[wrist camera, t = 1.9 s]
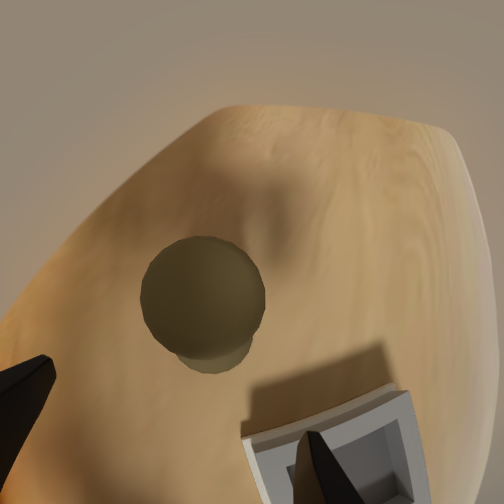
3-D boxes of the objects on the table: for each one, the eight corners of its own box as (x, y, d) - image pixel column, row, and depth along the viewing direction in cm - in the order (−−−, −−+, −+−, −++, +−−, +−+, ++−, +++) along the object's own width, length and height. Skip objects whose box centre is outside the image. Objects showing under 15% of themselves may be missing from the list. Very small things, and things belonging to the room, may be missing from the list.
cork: (161, 363, 19) (102, 345, 9) (179, 285, 22) (147, 202, 12) (245, 381, 19) (270, 383, 9) (258, 300, 22) (291, 228, 12)
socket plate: (283, 554, 13) (292, 575, 10) (240, 437, 17) (244, 448, 14) (413, 495, 15) (436, 504, 12) (387, 383, 20) (412, 381, 17)
